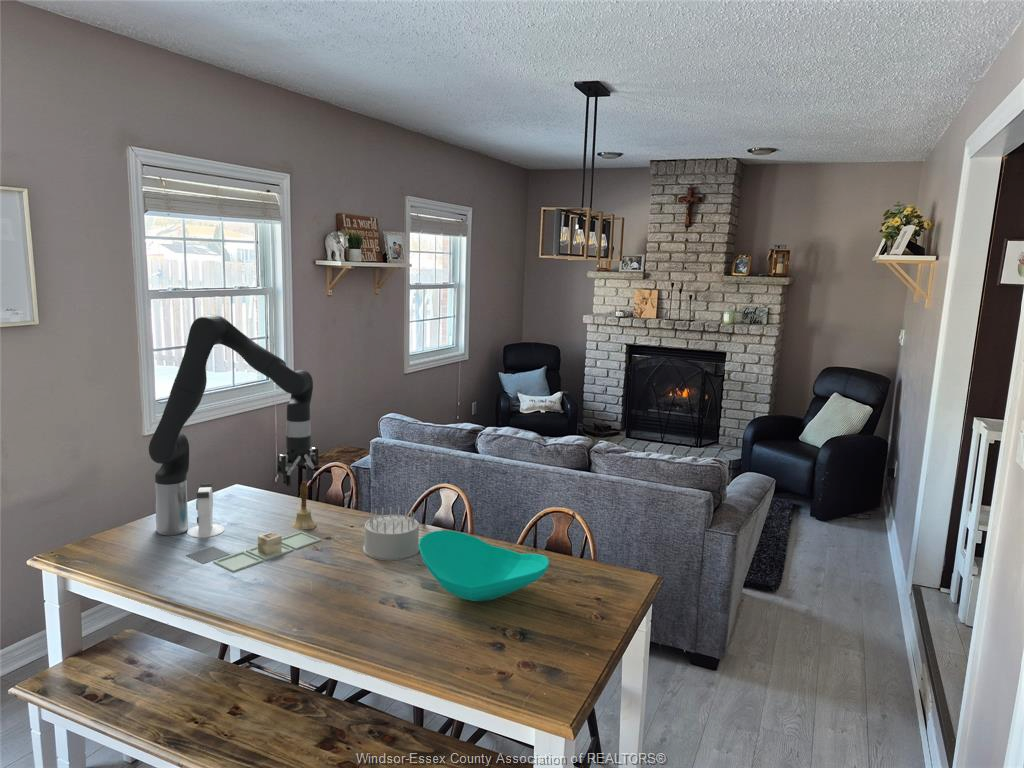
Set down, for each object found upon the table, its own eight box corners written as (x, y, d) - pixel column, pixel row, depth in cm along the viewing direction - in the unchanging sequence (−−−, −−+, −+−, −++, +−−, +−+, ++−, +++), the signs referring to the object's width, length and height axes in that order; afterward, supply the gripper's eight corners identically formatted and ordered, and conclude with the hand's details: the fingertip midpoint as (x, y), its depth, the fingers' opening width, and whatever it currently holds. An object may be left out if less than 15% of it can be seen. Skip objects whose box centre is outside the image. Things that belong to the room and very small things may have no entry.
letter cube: (257, 551, 220) (257, 535, 219) (271, 546, 224) (271, 531, 223) (267, 555, 217) (267, 539, 216) (281, 550, 221) (281, 535, 220)
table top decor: (394, 593, 198) (395, 549, 195) (451, 560, 221) (453, 520, 219) (516, 636, 178) (519, 587, 176) (565, 595, 202) (568, 551, 199)
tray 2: (246, 553, 219) (246, 549, 219) (273, 543, 228) (273, 540, 227) (265, 561, 214) (265, 558, 214) (293, 552, 222) (293, 548, 222)
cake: (410, 563, 218) (411, 522, 216) (354, 557, 220) (354, 516, 218) (426, 541, 235) (427, 503, 233) (374, 536, 238) (375, 498, 236)
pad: (185, 557, 214) (185, 555, 214) (213, 548, 222) (213, 546, 222) (202, 565, 209) (202, 563, 209) (230, 556, 217) (230, 554, 217)
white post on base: (189, 525, 239) (188, 482, 237) (225, 523, 243) (225, 481, 240) (185, 539, 228) (183, 494, 225) (222, 536, 231) (221, 492, 229)
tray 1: (213, 564, 211) (213, 560, 210) (243, 553, 219) (243, 550, 219) (233, 573, 205) (233, 570, 205) (263, 562, 213) (263, 559, 213)
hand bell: (289, 523, 245) (289, 479, 243) (314, 521, 249) (314, 477, 246) (293, 532, 238) (293, 486, 235) (318, 529, 241) (318, 484, 239)
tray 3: (276, 542, 228) (276, 539, 228) (301, 534, 236) (301, 531, 236) (295, 551, 223) (295, 548, 223) (321, 541, 231) (321, 538, 231)
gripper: (308, 427, 231) (308, 475, 234) (271, 435, 220) (272, 485, 223) (324, 431, 227) (324, 480, 230) (287, 439, 216) (287, 490, 218)
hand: (298, 482), depth 226 cm, fingers open, 8 cm apart
